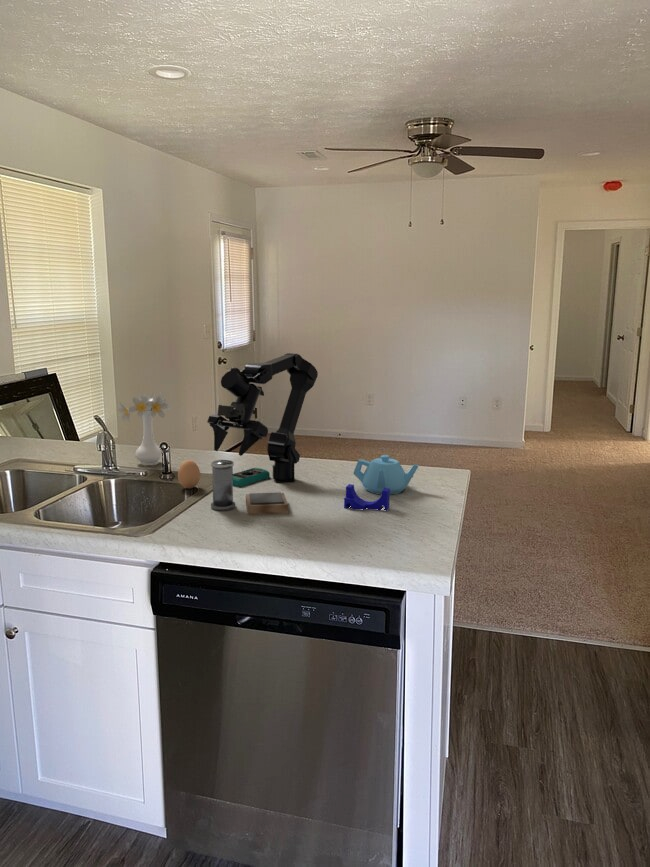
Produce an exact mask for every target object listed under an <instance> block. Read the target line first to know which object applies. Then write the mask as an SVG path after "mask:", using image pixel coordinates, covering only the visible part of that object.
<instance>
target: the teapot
mask: <svg viewBox="0 0 650 867" xmlns="http://www.w3.org/2000/svg"><path fill="white" fill-rule="evenodd" d="M390 457H391V455H387V454H382V455H380V457H379V458H374V459H372V460H371V461H369V460H365V459H362V458H358V460H357V463H356V465H355V467H354V471H353V472H352V474H353V475H354V476H355V477H356V478H357V479H358V480H359V481H360V483H361V484H362V486H363V487H364V489H365V490H366V491H367V490H368V491H367V492H369V491H370V492H369V493H372V492H373V493H372V494H376V493H378V494H377V495H382V490H383V489H384V488H390V495H396V493H397V494H400V493H402V492H403V491H404V490H405V489H406V487H407V486H408V485H409V484H410V482H411V480H412V478H413V477H414V474H416V471H417V470H418V468H419V464H413V465H412V466H411V467H410V469H409V470H408V471H407V472H405V470H404V468H403V467H402V465H401V463H400V462H399V460H397V459H394V458H390ZM363 466H365V467H366V468H365V470H364V472H362V471H361V470H362V468H363Z"/></svg>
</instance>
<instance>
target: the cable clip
mask: <svg viewBox="0 0 650 867" xmlns="http://www.w3.org/2000/svg"><path fill="white" fill-rule="evenodd" d="M390 495H391V494H390V488H384V489H383V490H382V494H380V497H379V498H378V499H376V500H373V501H372V500H371V501H368V500H366V499H362V498H361V496H359V495H358V494H357V492H356V489H355V484H351V483H349V484H347V485H346V486H345V498H344V500H343V509H348V508H349V507H350V506H351V507H350V508H352V509H351V510H356V509H363V510H362V511H365V510H371V509H378V510H377V511H380V510H381V509H382V508H383V507H385V509H384V510H386V511H385V512H387V511H389V509H390V497H391V496H390ZM366 508H368V509H366ZM388 508H389V509H388Z"/></svg>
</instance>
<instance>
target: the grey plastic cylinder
mask: <svg viewBox="0 0 650 867" xmlns="http://www.w3.org/2000/svg"><path fill="white" fill-rule="evenodd" d="M234 464H235V462H234V461H233V460H230V459H217V460H213V461H211V462H210V466H211V470H212V473H211V474H212V502H211V503H210V509H211V510H212V511H215V512H229V511H232V510H235V508H236V502H235V501H234V486H233V474H234V471H233V470H234V469H233V467H234V466H235V465H234Z"/></svg>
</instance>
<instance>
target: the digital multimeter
mask: <svg viewBox="0 0 650 867" xmlns="http://www.w3.org/2000/svg"><path fill="white" fill-rule="evenodd" d="M266 479H270V471H268V470H266V469H264V468H258V467H253V468H249V469H245V470H242V471H238V472H235V473H234V472H233V487H237V488H239V487H244V486H246V485H250V484H253V483H256V482H260V481H263V480H266Z"/></svg>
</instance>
